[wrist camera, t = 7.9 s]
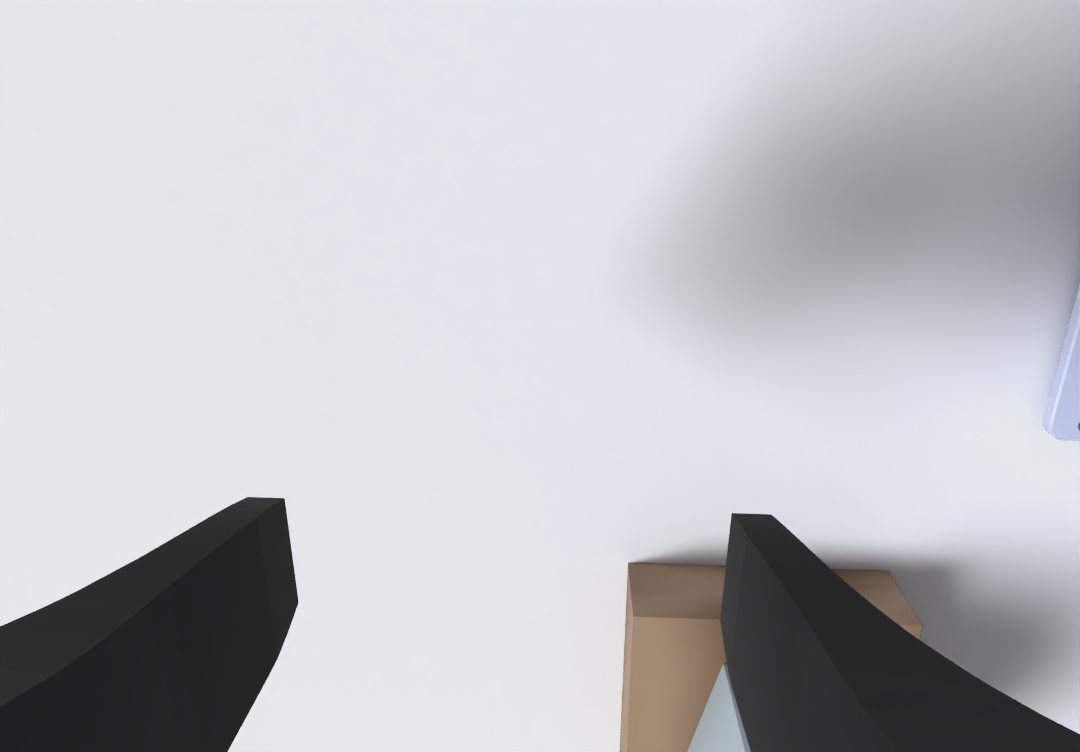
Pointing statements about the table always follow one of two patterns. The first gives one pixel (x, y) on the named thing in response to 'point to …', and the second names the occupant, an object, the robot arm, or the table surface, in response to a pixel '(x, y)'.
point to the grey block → (720, 721)
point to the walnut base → (696, 646)
